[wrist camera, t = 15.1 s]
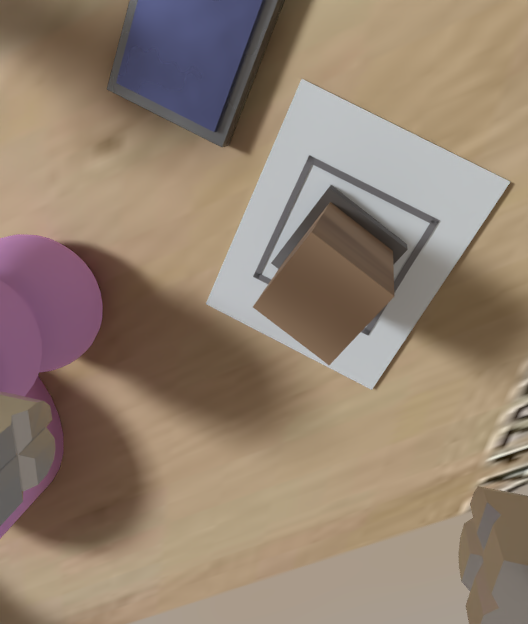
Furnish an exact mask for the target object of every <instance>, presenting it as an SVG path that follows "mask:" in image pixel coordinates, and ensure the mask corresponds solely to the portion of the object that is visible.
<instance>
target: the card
mask: <svg viewBox="0 0 528 624" xmlns="http://www.w3.org/2000/svg"><path fill="white" fill-rule="evenodd" d="M509 183H510V181H508V180H506V179H504V178H502V177H500V176H498V175H496V174H494V173H492V172H490V171H488V170H486V169H484V168H482V167H480V166H478V165H476V164H473V163H471V162H469V161H467V160H465V159H463V158H461V157H459V156H457V155H455V154H453V153H451V152H449V151H447V150H445V149H443V148H441V147H439V146H437V145H435V144H433V143H431V142H429V141H427V140H425V139H423V138H421V137H419V136H417V135H415V134H413V133H411V132H409V131H407V130H405V129H403V128H401V127H399V126H397V125H395V124H392V123H390V122H388V121H386V120H384V119H382V118H380V117H378V116H376V115H374V114H372V113H370V112H368V111H366V110H364V109H362V108H360V107H358V106H356V105H354V104H352V103H350V102H348V101H346V100H344V99H342V98H340V97H338V96H336V95H334V94H332V93H330V92H328V91H326V90H324V89H322V88H320V87H318V86H316V85H314V84H311V83H309V82H307V81H305V80H303V79H301V82H300V84H299V86H298V89H297V91H296V93H295V96H294V98H293V100H292V103H291V105H290V107H289V110H288V112H287V115H286V117H285V119H284V122H283V124H282V126H281V129H280V131H279V133H278V136H277V138H276V140H275V143H274V145H273V147H272V150H271V152H270V154H269V157H268V159H267V162H266V164H265V166H264V169H263V171H262V173H261V176H260V178H259V180H258V183H257V185H256V187H255V190H254V192H253V194H252V197H251V199H250V201H249V204H248V206H247V208H246V211H245V213H244V216H243V218H242V220H241V223H240V225H239V227H238V230H237V232H236V234H235V237H234V239H233V241H232V244H231V246H230V248H229V251H228V253H227V255H226V258H225V260H224V263H223V265H222V267H221V270H220V272H219V274H218V277H217V279H216V281H215V284H214V286H213V288H212V291H211V293H210V295H209V298H208V300H207V302H206V304H207V305H209V306H211V307H213V308H214V309H216V310H218V311H220V312H222V313H224V314H226V315H228V316H230V317H232V318H234V319H236V320H238V321H240V322H242V323H244V324H245V325H247V326H249V327H251V328H253V329H255V330H257V331H259V332H261V333H263V334H265V335H267V336H269V337H271V338H273V339H274V340H276V341H278V342H280V343H282V344H284V345H286V346H288V347H290V348H292V349H294V350H296V351H298V352H300V353H302V354H304V355H305V356H307V357H309V358H311V359H313V360H315V361H317V362H319V363H321V364H323V365H325V366H327V367H329V368H331V369H333V370H334V371H336V372H338V373H340V374H342V375H344V376H346V377H348V378H350V379H352V380H354V381H356V382H358V383H360V384H362V385H364V386H365V387H367V388H369V389H371V390H372V389H373V387H374V386H375V384H376V383H377V381H378V380H379V378H380V377H381V375H382V374H383V372H384V371H385V369H386V368H387V366H388V365H389V363H390V362H391V360H392V359H393V357H394V356H395V354H396V353H397V351H398V350H399V348H400V347H401V345H402V344H403V342H404V341H405V339H406V338H407V336H408V335H409V333H410V332H411V330H412V329H413V327H414V326H415V324H416V323H417V321H418V320H419V318H420V317H421V315H422V314H423V312H424V311H425V309H426V308H427V306H428V305H429V303H430V302H431V300H432V299H433V297H434V296H435V294H436V293H437V291H438V290H439V288H440V287H441V285H442V284H443V282H444V281H445V279H446V278H447V276H448V275H449V273H450V272H451V270H452V269H453V267H454V266H455V264H456V263H457V261H458V260H459V258H460V257H461V255H462V254H463V252H464V251H465V249H466V248H467V246H468V245H469V243H470V242H471V240H472V239H473V237H474V236H475V234H476V233H477V231H478V230H479V228H480V227H481V225H482V224H483V222H484V221H485V219H486V218H487V216H488V215H489V213H490V212H491V210H492V209H493V207H494V206H495V204H496V203H497V201H498V200H499V198H500V197H501V195H502V194H503V192H504V191H505V189H506V188H507V186H508V185H509ZM330 185H332V186H334V187H335V188H336V189H337V190H339V191H340V192H341V193H343V194H344V195H345V196H346V197H348V198H349V199H350V200H351V201H353V202H354V203H355V204H357V205H358V206H359V207H360V208H362V209H363V210H364V211H365V212H367V213H368V214H369V215H371V216H372V217H373V218H374V219H376V220H377V221H378V222H379V223H381V224H382V225H383V226H385V227H386V228H387V229H388V230H390V231H391V232H392V233H393V234H395V235H396V236H397V237H399V238H400V239H401V240H402V241H404V242H405V243H406V244H407V248H408V250H407V251H406V252H405V253H404V254H403V255H402V256H401V257H400V259H399V260H398V261H397V262H396V263H395V264H394V265H393V266H394V297H393V299H392V300H391V301H390V302H389V303H388V304H387V305H386V306H385V307H384V308H383V309H382V310H381V311H380V312H379V313H378V314H377V315H376V316H375V318H374V319H373V320H372V321H371V322H370V323H369V324H368V325H367V326H366V327H365V328H364V329H363V330H362V331H361V332H360V333H359V334H358V336H357V337H356V338H355V339H354V340H353V341H352V342H351V343H350V344H349V345H348V346H347V347H346V348H345V349H344V350H343V351H342V352H341V354H340V355H339V356H338V357H337V358H336V359H335V360H334V361H333V362H332V363H331V364H330V365H328V364H326V363H325V362H324V361H323V360H321V359H320V358H319V357H317V356H316V355H315V354H313V353H312V352H311V351H309V350H308V349H307V348H306V347H304V346H303V345H302V344H300V343H299V342H298V341H296V340H295V339H294V338H292V337H291V336H290V335H288V334H287V333H286V332H285V331H283V330H282V329H281V328H279V327H278V326H277V325H275V324H274V323H273V322H271V321H270V320H269V319H267V318H266V317H265V316H264V315H262V314H261V313H260V312H258V311H257V310H256V309H254V308H253V306H254V304H255V303H256V301H257V300H258V299H259V297H260V296H261V294H262V293H263V291H264V290H265V288H266V287H267V285H268V284H269V283H270V281H271V280H272V278H273V277H274V275H275V274H276V272H277V271H278V268H276V267H275V266H274V265H273V264H271V262H272V261H273V260H274V258H275V257H276V256H277V255H278V253H279V252H280V251H281V249H282V248H283V247H284V245H285V244H286V243H287V241H288V240H289V239H290V238H291V236H292V235H293V234H294V232H295V231H296V230H297V228H298V227H299V226H300V224H301V223H302V222H303V220H304V219H305V218H306V217H307V215H308V214H309V213H310V211H311V210H312V209H313V207H314V206H315V205H316V203H317V202H318V201H319V199H320V198H321V197H322V196H323V194H324V193H325V192H326V190H327V189H328V188H329V186H330Z"/></svg>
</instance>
